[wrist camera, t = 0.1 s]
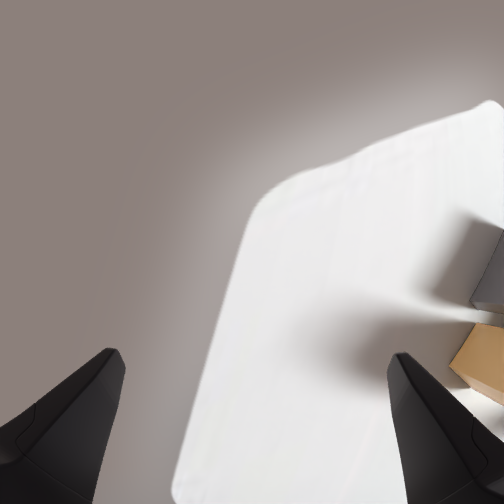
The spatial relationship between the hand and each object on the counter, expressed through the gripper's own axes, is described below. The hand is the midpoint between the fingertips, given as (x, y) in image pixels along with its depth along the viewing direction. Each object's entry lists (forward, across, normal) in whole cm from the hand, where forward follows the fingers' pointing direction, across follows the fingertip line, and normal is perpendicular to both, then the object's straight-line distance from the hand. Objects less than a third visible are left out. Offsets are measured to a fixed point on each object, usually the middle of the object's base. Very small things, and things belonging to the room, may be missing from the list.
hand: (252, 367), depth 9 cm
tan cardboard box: (+10, -21, +13) cm, 26 cm away
